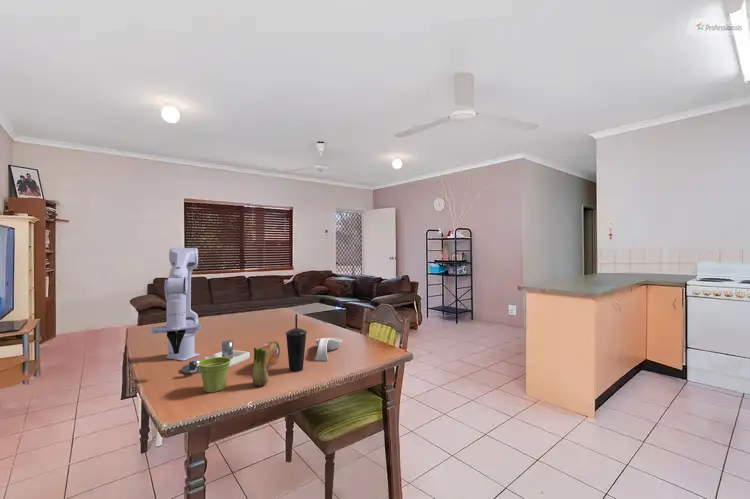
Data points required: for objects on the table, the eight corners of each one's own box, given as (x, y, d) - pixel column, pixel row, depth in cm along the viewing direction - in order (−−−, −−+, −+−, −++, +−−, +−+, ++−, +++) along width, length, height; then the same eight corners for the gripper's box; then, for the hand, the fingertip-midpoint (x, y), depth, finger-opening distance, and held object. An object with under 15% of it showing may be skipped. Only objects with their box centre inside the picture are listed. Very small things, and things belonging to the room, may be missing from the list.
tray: (203, 364, 132) (203, 358, 132) (227, 355, 144) (227, 349, 144) (226, 368, 128) (226, 361, 128) (249, 358, 140) (249, 352, 140)
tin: (260, 374, 123) (260, 350, 123) (252, 373, 123) (252, 349, 123) (280, 360, 138) (280, 339, 138) (273, 359, 138) (273, 338, 138)
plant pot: (205, 383, 114) (205, 356, 114) (235, 382, 115) (235, 356, 115) (192, 395, 105) (192, 366, 105) (225, 394, 105) (225, 365, 105)
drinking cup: (310, 367, 130) (310, 313, 129) (299, 374, 122) (299, 317, 122) (292, 365, 132) (292, 312, 132) (281, 371, 125) (281, 315, 125)
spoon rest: (317, 344, 160) (317, 329, 160) (343, 345, 160) (343, 329, 160) (307, 361, 137) (307, 343, 137) (337, 362, 137) (337, 343, 136)
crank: (192, 364, 128) (192, 355, 128) (200, 364, 129) (200, 354, 129) (187, 373, 119) (187, 363, 119) (196, 372, 120) (196, 362, 120)
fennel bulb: (251, 382, 115) (251, 346, 115) (267, 380, 117) (267, 344, 117) (253, 389, 110) (253, 350, 110) (269, 386, 112) (269, 349, 112)
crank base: (175, 371, 124) (175, 368, 124) (196, 364, 133) (196, 361, 133) (194, 375, 121) (194, 372, 121) (215, 366, 130) (215, 363, 130)
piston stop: (219, 360, 135) (219, 342, 135) (228, 357, 139) (228, 339, 139) (226, 362, 133) (226, 343, 133) (235, 359, 137) (235, 341, 137)
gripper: (149, 316, 112) (149, 359, 112) (199, 313, 118) (199, 353, 118) (152, 313, 119) (152, 353, 119) (200, 310, 125) (200, 348, 125)
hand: (176, 353), depth 119 cm, fingers closed
